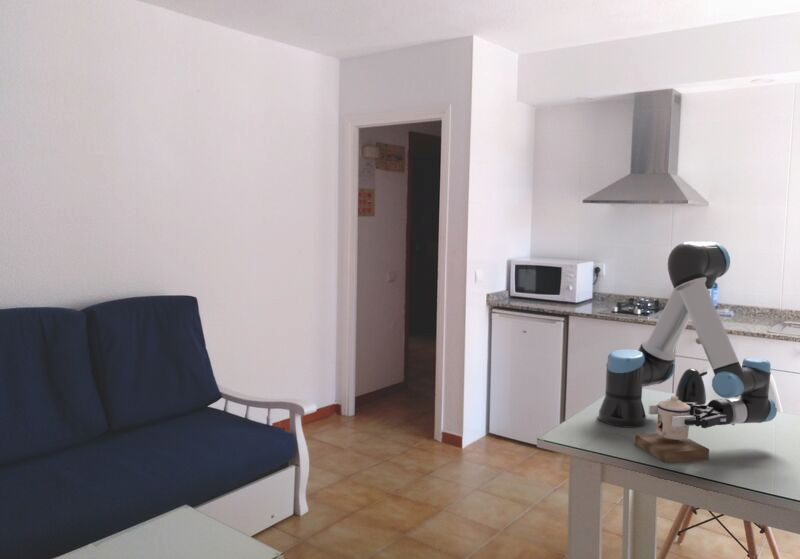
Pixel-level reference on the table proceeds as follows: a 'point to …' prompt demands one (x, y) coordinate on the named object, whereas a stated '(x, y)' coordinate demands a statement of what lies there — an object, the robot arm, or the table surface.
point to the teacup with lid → (666, 415)
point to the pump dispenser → (691, 387)
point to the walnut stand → (671, 448)
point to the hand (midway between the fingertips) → (661, 415)
